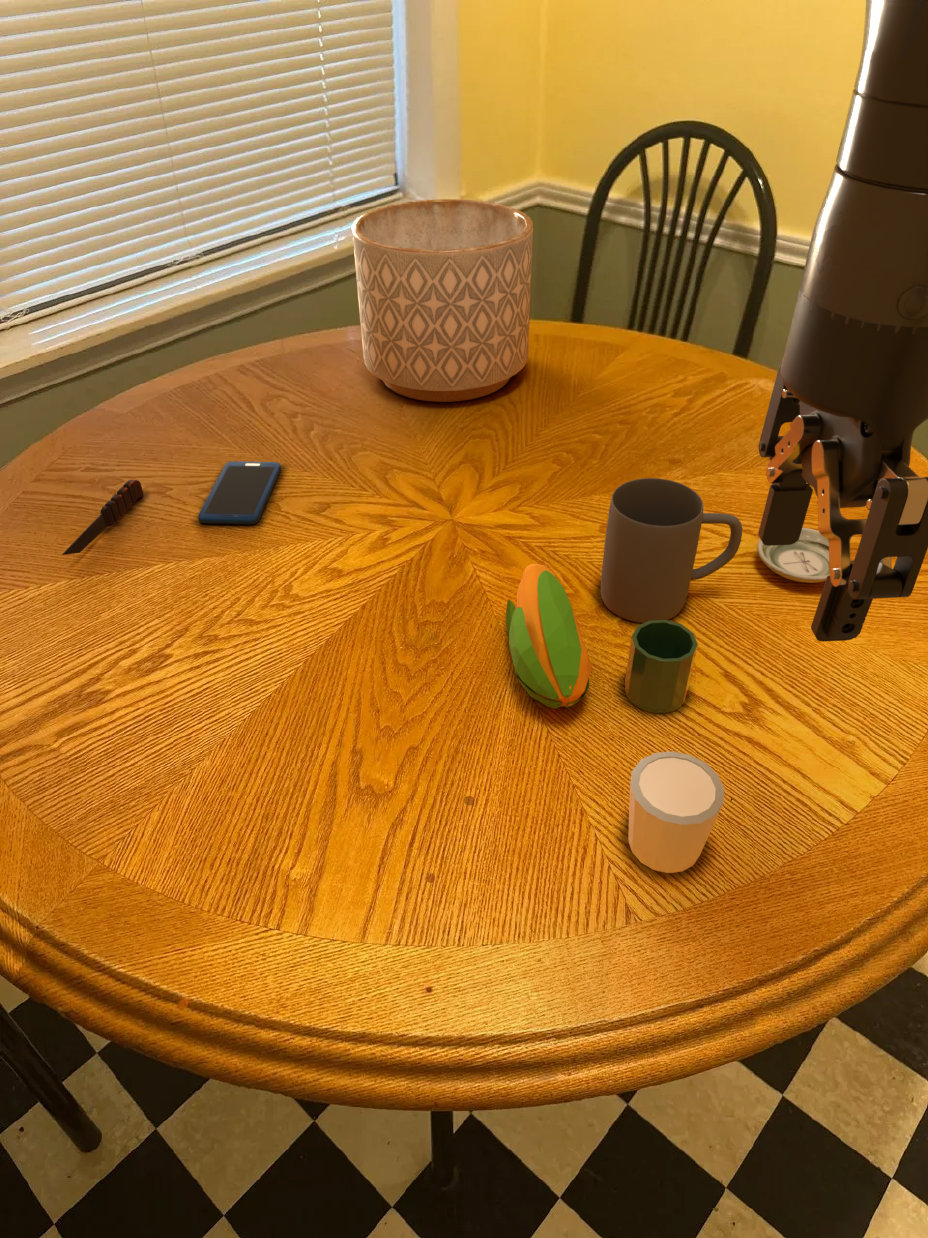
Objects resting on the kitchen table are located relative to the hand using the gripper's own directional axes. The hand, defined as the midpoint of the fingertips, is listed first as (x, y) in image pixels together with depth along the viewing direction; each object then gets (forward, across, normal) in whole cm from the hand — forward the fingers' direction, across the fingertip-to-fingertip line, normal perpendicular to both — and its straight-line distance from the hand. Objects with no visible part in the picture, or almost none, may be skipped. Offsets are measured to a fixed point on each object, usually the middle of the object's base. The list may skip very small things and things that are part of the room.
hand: (802, 585), depth 47 cm
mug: (+28, +34, -4) cm, 44 cm away
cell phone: (+28, +58, +44) cm, 78 cm away
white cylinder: (+28, +3, +3) cm, 29 cm away
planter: (+28, +92, +17) cm, 98 cm away
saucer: (+28, +38, -20) cm, 51 cm away
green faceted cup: (+28, +20, 0) cm, 34 cm away
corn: (+28, +26, +10) cm, 40 cm away
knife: (+28, +51, +59) cm, 83 cm away
